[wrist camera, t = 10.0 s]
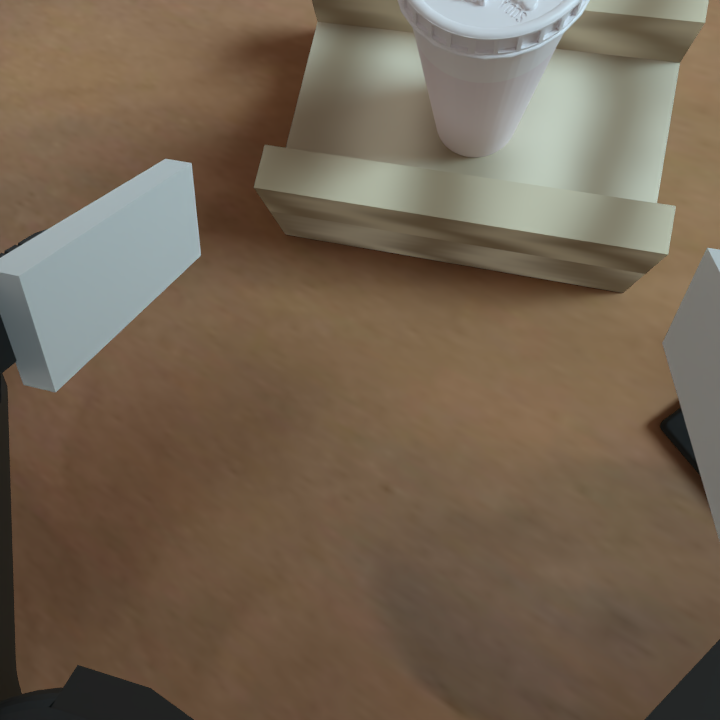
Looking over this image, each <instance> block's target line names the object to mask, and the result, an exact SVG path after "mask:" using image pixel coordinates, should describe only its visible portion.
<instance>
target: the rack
mask: <svg viewBox="0 0 720 720" xmlns="http://www.w3.org/2000/svg"><path fill="white" fill-rule="evenodd" d="M708 1H709V0H590V1H589V3H588V5H587V6H586V8H585V10H584V12H583V14H582V15H581V16H580V17H579V18H578V19H577V20H576V21H575V22H574V23H573V24H572V25H571V26H570V27H569V28H568V29H567V30H566V31H565V33H564V34H563V36H562V38H561V40H560V41H559V43H558V45H557V47H556V49H555V51H554V53H553V55H552V57H551V59H550V61H549V63H548V65H547V67H546V69H545V71H544V73H543V75H542V77H541V79H540V81H539V83H538V85H537V87H536V90H535V92H534V94H533V96H532V98H531V100H530V102H529V104H528V106H527V108H526V110H525V112H524V114H523V116H522V118H521V120H520V122H519V124H518V126H517V128H516V130H515V132H514V134H513V136H512V138H511V139H510V141H509V142H508V143H507V144H506V145H505V146H504V147H503V148H502V149H500V150H499V151H497V152H495V153H493V154H491V155H488V156H484V157H475V158H473V157H465V156H462V155H459V154H457V153H454V152H453V151H451V150H450V149H449V148H447V147H446V146H445V145H444V143H443V142H442V141H441V139H440V137H439V135H438V132H437V128H436V124H435V120H434V116H433V111H432V107H431V103H430V98H429V94H428V90H427V86H426V81H425V77H424V73H423V69H422V64H421V60H420V56H419V52H418V47H417V43H416V39H415V35H414V32H413V28H412V26H411V25H410V24H409V22H408V21H407V19H406V18H405V16H404V15H403V14H402V12H401V10H400V7H399V4H398V1H397V0H312V3H313V6H314V10H315V14H316V17H317V21H318V22H317V26H316V30H315V34H314V38H313V42H312V46H311V50H310V54H309V58H308V62H307V66H306V70H305V74H304V78H303V81H302V85H301V89H300V93H299V97H298V101H297V105H296V109H295V113H294V117H293V121H292V125H291V129H290V133H289V137H288V141H287V145H286V148H284V147H277V146H270V145H265V146H264V149H263V153H262V157H261V161H260V165H259V169H258V173H257V176H256V180H255V184H254V189H255V190H256V192H257V193H258V195H259V196H260V198H261V199H262V201H263V202H264V203H265V205H266V206H267V208H268V209H269V211H270V212H271V214H272V215H273V217H274V218H275V220H276V221H277V223H278V224H279V226H280V227H281V229H282V230H283V232H284V233H285V234H286V235H292V236H298V237H303V238H309V239H315V240H321V241H326V242H332V243H338V244H344V245H350V246H355V247H361V248H367V249H373V250H378V251H384V252H390V253H396V254H401V255H407V256H413V257H419V258H425V259H430V260H436V261H442V262H448V263H453V264H459V265H465V266H471V267H476V268H482V269H488V270H494V271H499V272H505V273H511V274H517V275H523V276H528V277H534V278H540V279H546V280H551V281H557V282H563V283H569V284H574V285H580V286H586V287H592V288H598V289H603V290H609V291H615V292H621V293H624V292H625V291H626V290H627V289H628V288H629V287H631V286H632V285H633V284H634V283H635V282H636V281H638V280H639V279H640V278H641V277H642V276H643V275H645V274H646V273H647V272H648V271H649V270H650V269H652V268H653V267H654V266H655V265H656V264H658V263H659V262H660V261H661V260H662V259H663V258H665V257H666V256H667V255H668V252H669V245H670V239H671V233H672V227H673V220H674V214H675V208H676V206H672V205H665V204H659V203H657V199H658V193H659V187H660V181H661V174H662V168H663V162H664V156H665V150H666V144H667V138H668V132H669V126H670V120H671V113H672V107H673V101H674V95H675V89H676V83H677V77H678V71H679V65H680V62H681V60H682V59H683V57H684V55H685V54H686V52H687V51H688V49H689V47H690V46H691V44H692V43H693V41H694V39H695V38H696V36H697V35H698V33H699V31H700V30H701V28H702V27H703V25H704V23H705V19H706V13H707V7H708Z"/></svg>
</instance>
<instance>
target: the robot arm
mask: <svg viewBox="0 0 720 720" xmlns="http://www.w3.org/2000/svg"><path fill="white" fill-rule="evenodd" d="M200 256H201V250H200V240H199V231H198V221H197V211H196V201H195V192H194V182H193V172H192V163H188V162H182V161H176V160H170V159H164V160H163V161H161V162H159V163H158V164H156V165H154V166H153V167H151V168H149V169H148V170H146V171H144V172H143V173H141V174H139V175H138V176H136V177H134V178H133V179H131V180H129V181H128V182H126V183H124V184H123V185H121V186H119V187H118V188H116V189H114V190H113V191H111V192H109V193H108V194H106V195H104V196H103V197H101V198H99V199H98V200H96V201H94V202H93V203H91V204H89V205H88V206H86V207H84V208H82V209H81V210H79V211H77V212H76V213H74V214H72V215H71V216H69V217H67V218H66V219H64V220H62V221H61V222H59V223H57V224H56V225H54V226H52V227H51V228H49V229H46V230H43V231H40V232H37V233H34V234H33V235H31V236H29V237H28V238H26V239H24V240H23V241H21V242H19V243H18V246H17V245H14V246H12V247H11V248H9V249H7V250H6V251H5V253H4V254H3V253H1V254H0V720H193V719H192V718H191V717H189V716H188V715H187V714H185V713H184V712H182V711H181V710H180V709H178V708H177V707H176V706H174V705H173V704H171V703H170V702H169V701H167V700H166V699H165V698H163V697H162V696H160V695H159V694H158V693H156V692H155V691H154V690H152V689H151V688H148V687H145V686H142V685H139V684H136V683H133V682H129V681H126V680H123V679H120V678H117V677H114V676H111V675H107V674H104V673H101V672H98V671H95V670H92V669H89V668H85V667H82V666H79V665H77V667H76V669H75V670H74V672H73V673H72V675H71V676H70V678H69V680H68V681H67V683H66V684H65V686H64V687H63V688H53V689H45V690H37V691H33V692H29V693H25V694H22V693H21V689H20V686H19V682H18V677H17V671H16V656H15V623H14V590H13V556H12V523H11V490H10V457H9V424H8V391H7V384H6V382H5V379H4V376H3V374H2V373H3V372H4V371H5V370H6V369H7V368H9V367H10V366H11V365H12V364H14V363H15V362H16V365H17V368H18V371H19V373H20V376H21V379H22V382H23V385H27V386H31V387H35V388H39V389H44V390H48V391H52V392H57V391H58V390H59V389H60V388H61V387H62V386H63V385H64V384H65V383H66V382H67V381H68V380H69V379H70V378H71V377H73V376H74V375H75V374H76V373H77V372H78V371H79V370H80V369H81V368H82V367H83V366H84V365H85V364H86V363H87V362H88V361H90V360H91V359H92V358H93V357H94V356H95V355H96V354H97V353H98V352H99V351H100V350H101V349H102V348H103V347H104V346H105V345H106V344H108V343H109V342H110V341H111V340H112V339H113V338H114V337H115V336H116V335H117V334H118V333H119V332H120V331H121V330H122V329H123V328H125V327H126V326H127V325H128V324H129V323H130V322H131V321H132V320H133V319H134V318H135V317H136V316H137V315H138V314H139V313H140V312H142V311H143V310H144V309H145V308H146V307H147V306H148V305H149V304H150V303H151V302H152V301H153V300H154V299H155V298H156V297H157V296H158V295H160V294H161V293H162V292H163V291H164V290H165V289H166V288H167V287H168V286H169V285H170V284H171V283H172V282H173V281H174V280H175V279H177V278H178V277H179V276H180V275H181V274H182V273H183V272H184V271H185V270H186V269H187V268H188V267H189V266H190V265H191V264H192V263H194V262H195V261H196V260H197V259H198V258H199V257H200ZM663 347H664V350H665V354H666V357H667V361H668V364H669V368H670V371H671V375H672V378H673V382H674V385H675V388H676V392H677V395H678V399H679V402H680V406H681V409H682V413H683V416H684V420H685V423H686V427H687V430H688V434H689V437H690V440H691V444H692V447H693V451H694V454H695V458H696V461H697V465H698V468H699V472H700V475H701V479H702V482H703V485H704V489H705V492H706V496H707V499H708V503H709V506H710V510H711V513H712V517H713V520H714V524H715V527H716V531H717V534H718V537H719V541H720V250H718V249H712V248H707V249H706V251H705V253H704V256H703V258H702V260H701V262H700V264H699V266H698V268H697V271H696V273H695V275H694V277H693V279H692V281H691V283H690V285H689V288H688V290H687V292H686V294H685V296H684V298H683V300H682V302H681V305H680V307H679V309H678V311H677V313H676V315H675V317H674V320H673V322H672V324H671V326H670V328H669V330H668V332H667V334H666V337H665V339H664V341H663ZM645 720H720V640H719V641H718V642H717V643H716V644H715V645H714V646H713V647H712V648H711V649H710V650H709V651H708V653H707V654H706V655H705V656H704V657H703V658H702V659H701V660H700V661H699V662H698V663H697V664H696V665H695V666H694V667H693V669H692V670H691V671H690V672H689V673H688V674H687V675H686V676H685V677H684V678H683V679H682V680H681V681H680V682H679V684H678V685H677V686H676V687H675V688H674V689H673V690H672V691H671V692H670V693H669V694H668V695H667V696H666V697H665V698H664V700H663V701H662V702H661V703H660V704H659V705H658V706H657V707H656V708H655V709H654V710H653V711H652V712H651V713H650V714H649V716H648V717H647V718H646V719H645Z"/></svg>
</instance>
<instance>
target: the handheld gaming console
mask: <svg viewBox="0 0 720 720" xmlns="http://www.w3.org/2000/svg"><path fill="white" fill-rule="evenodd" d="M660 428H661V430H662V431H663V432H664V433H665V435H666V436H667V437H668V438H669V439H670V440H671V442H672V443H673V444H674V445H675V446H676V447H677V449H678V450H679V451H680V452H681V453H682V455H683V456H684V457H685V458H686V459H687V460H688V462H689V463H690V464H691V465H692V466H693V467H694V469H695V470H696V471H697V472H698V473H699V474H700V472H699V468H698V465H697V461H696V458H695V454H694V451H693V447H692V444H691V440H690V437H689V434H688V430H687V427H686V423H685V420H684V416H683V413H682V409H681V408H679V409H678V410H677V411H675V412H674V413H673V414H671V415H670V416H669V417H667V418H666V419H665V420H663V421H662V423H661V425H660ZM700 476H701V475H700Z"/></svg>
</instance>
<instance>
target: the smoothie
mask: <svg viewBox="0 0 720 720" xmlns="http://www.w3.org/2000/svg"><path fill="white" fill-rule="evenodd" d="M397 1H398V4H399V7H400V10H401V12H402V14H403V15H404V16H405V18H406V19H407V21H408V22H409V24H410V25H411V26H412V28H413V32H414V35H415V39H416V43H417V47H418V52H419V56H420V60H421V64H422V69H423V73H424V77H425V81H426V86H427V90H428V94H429V98H430V103H431V107H432V111H433V116H434V120H435V124H436V128H437V132H438V135H439V137H440V139H441V141H442V142H443V143H444V145H445V146H446V147H447V148H449V149H450V150H451V151H453V152H454V153H457V154H459V155H462V156H465V157H473V158H475V157H484V156H488V155H491V154H493V153H495V152H497V151H499V150H500V149H502V148H503V147H504V146H505V145H506V144H507V143H508V142H509V141H510V139H511V138H512V136H513V134H514V132H515V130H516V128H517V126H518V124H519V122H520V120H521V118H522V116H523V114H524V112H525V110H526V108H527V106H528V104H529V102H530V100H531V98H532V96H533V94H534V92H535V90H536V87H537V85H538V83H539V81H540V79H541V77H542V75H543V73H544V71H545V69H546V67H547V65H548V63H549V61H550V59H551V57H552V55H553V53H554V51H555V49H556V47H557V45H558V43H559V41H560V40H561V38H562V36H563V34H564V33H565V31H566V30H567V29H568V28H569V27H570V26H571V25H572V24H573V23H574V22H575V21H576V20H577V19H578V18H579V17H580V16H581V15H582V14H583V12H584V10H585V8H586V6H587V5H588V3H589V1H590V0H397Z"/></svg>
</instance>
